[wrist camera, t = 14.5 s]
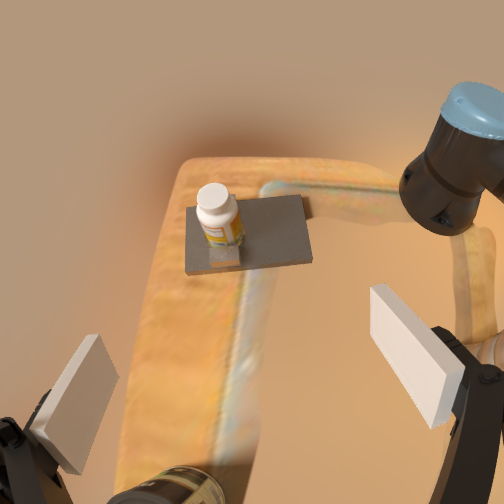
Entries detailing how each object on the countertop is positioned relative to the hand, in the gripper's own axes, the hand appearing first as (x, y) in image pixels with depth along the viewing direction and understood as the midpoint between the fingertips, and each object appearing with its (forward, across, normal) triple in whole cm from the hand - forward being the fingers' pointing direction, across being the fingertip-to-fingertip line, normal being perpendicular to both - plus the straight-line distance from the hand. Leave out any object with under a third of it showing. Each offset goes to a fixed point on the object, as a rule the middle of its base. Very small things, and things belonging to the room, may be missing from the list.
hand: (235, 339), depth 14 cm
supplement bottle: (+33, -2, -4) cm, 34 cm away
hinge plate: (+34, +1, -5) cm, 35 cm away
